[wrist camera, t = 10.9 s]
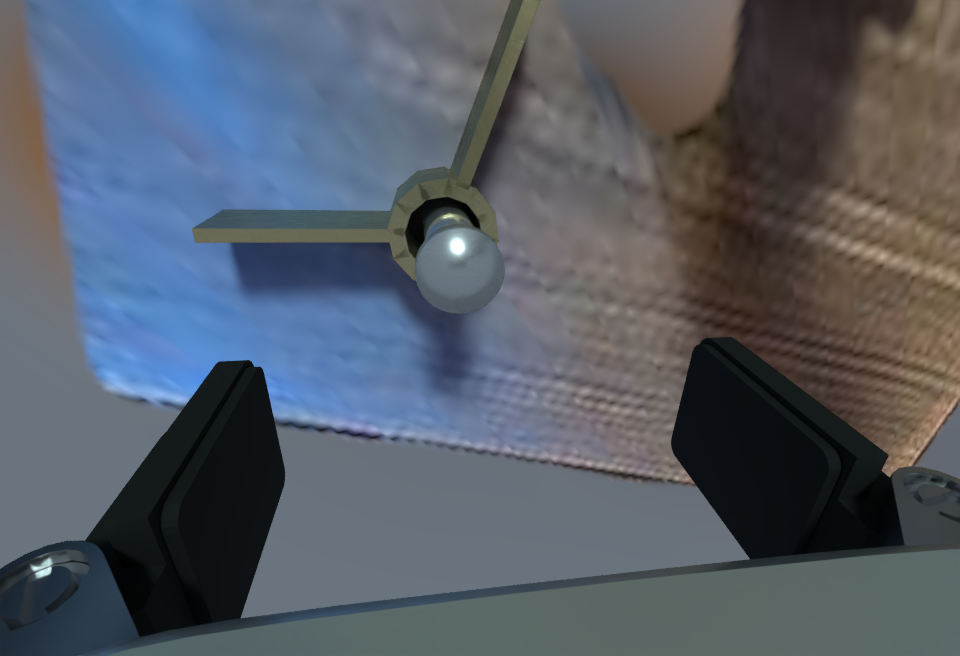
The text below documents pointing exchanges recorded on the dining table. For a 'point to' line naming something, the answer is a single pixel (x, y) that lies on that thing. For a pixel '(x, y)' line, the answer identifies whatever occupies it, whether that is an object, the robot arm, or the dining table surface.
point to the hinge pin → (456, 260)
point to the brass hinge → (412, 192)
